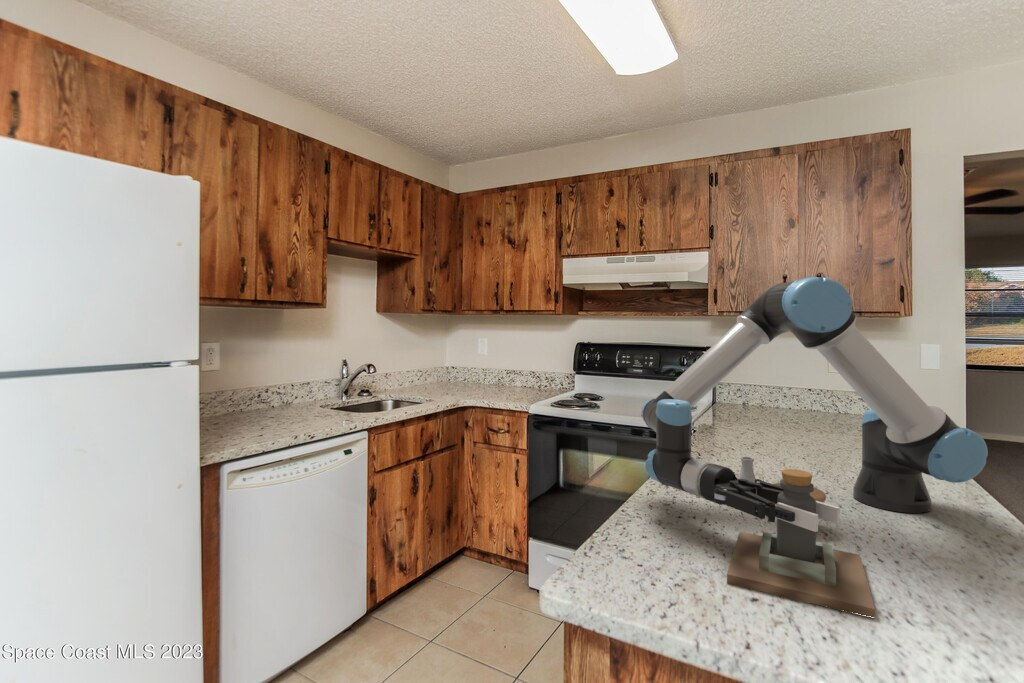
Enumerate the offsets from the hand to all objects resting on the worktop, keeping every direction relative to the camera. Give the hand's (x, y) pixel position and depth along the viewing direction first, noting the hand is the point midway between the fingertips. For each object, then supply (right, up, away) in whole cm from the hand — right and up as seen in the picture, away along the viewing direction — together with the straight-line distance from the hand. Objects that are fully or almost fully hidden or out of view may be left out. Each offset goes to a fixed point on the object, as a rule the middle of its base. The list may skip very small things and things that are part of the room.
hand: (827, 519), depth 79 cm
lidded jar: (+10, -11, +25) cm, 29 cm away
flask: (+8, -11, +44) cm, 46 cm away
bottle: (-2, -9, +5) cm, 10 cm away
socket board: (-2, -11, +5) cm, 12 cm away
